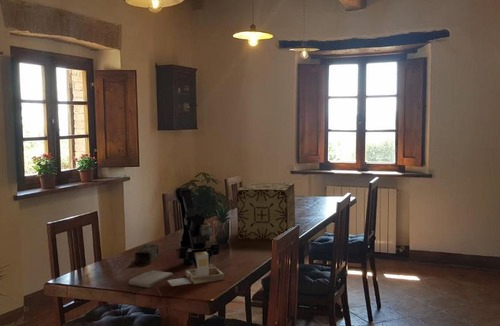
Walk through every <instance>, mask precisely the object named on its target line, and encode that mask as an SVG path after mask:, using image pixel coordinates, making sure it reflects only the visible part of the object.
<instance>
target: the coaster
mask: <svg viewBox="0 0 500 326" xmlns="http://www.w3.org/2000/svg"><path fill="white" fill-rule="evenodd" d="M167 282H168V284H169V285H170V286H171V287H175V286H183V285H188V284H189V285H190V284H192V281H191V280H190V279H189V278H188V277H181V278H176V279H175V278H174V279H168V280H167Z"/></svg>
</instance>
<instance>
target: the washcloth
mask: <svg viewBox="0 0 500 326" xmlns="http://www.w3.org/2000/svg"><path fill="white" fill-rule="evenodd" d="M173 274H174V273H173V272H167V271H162V270H153V269H152V270H151V271H144V273H142V274H141V273H140V275H139V274H138V275H136V276H134V277H132V278H130V280H129V281H128V284H129V285H131V286H137V287H141V288H148V289H149V288H153V287H155V286H156V285H158V283H161V282H162V281H165V280H166V279H168V278H170V277H172V276H173Z"/></svg>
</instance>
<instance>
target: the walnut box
mask: <svg viewBox="0 0 500 326" xmlns="http://www.w3.org/2000/svg"><path fill="white" fill-rule="evenodd" d="M217 269H218V267H217V266H215V265H214V264H213V263H211V264H210V263H209V276H210V275H217Z"/></svg>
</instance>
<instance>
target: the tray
mask: <svg viewBox="0 0 500 326" xmlns="http://www.w3.org/2000/svg"><path fill="white" fill-rule="evenodd" d="M185 276H186V278H188V279H189V281H190V282H191V283H192V284H193V285H195V284H196V285H197V284H202V283H203V284H204V283H210V282H216V281H217V282H218V281H223V280H224V281H225V274H224V272H222V271H221V270H220V269H219V268H217V275H210V276H203V277H196V273H195V268H192V269H185Z"/></svg>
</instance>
